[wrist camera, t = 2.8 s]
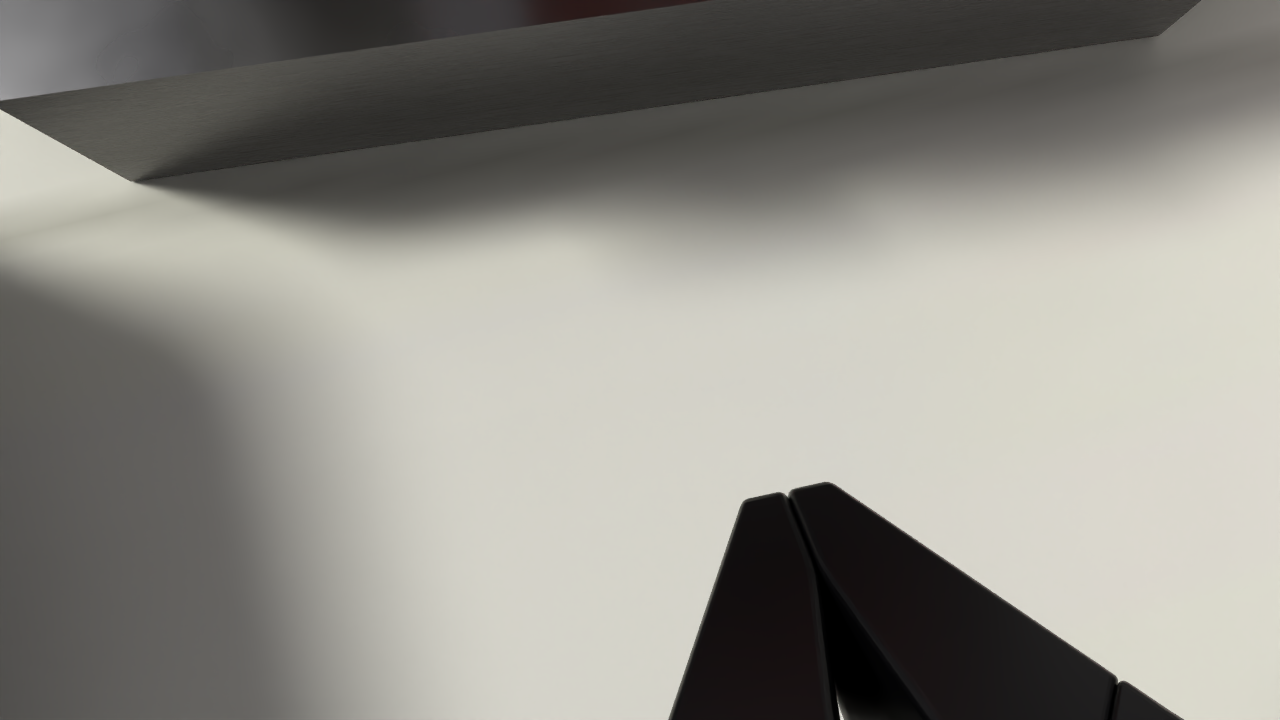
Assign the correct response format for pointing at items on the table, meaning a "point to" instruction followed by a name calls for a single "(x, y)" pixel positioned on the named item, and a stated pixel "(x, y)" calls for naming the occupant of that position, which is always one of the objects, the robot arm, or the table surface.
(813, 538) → the robot arm
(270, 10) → the grey cartridge tray
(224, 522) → the table surface
